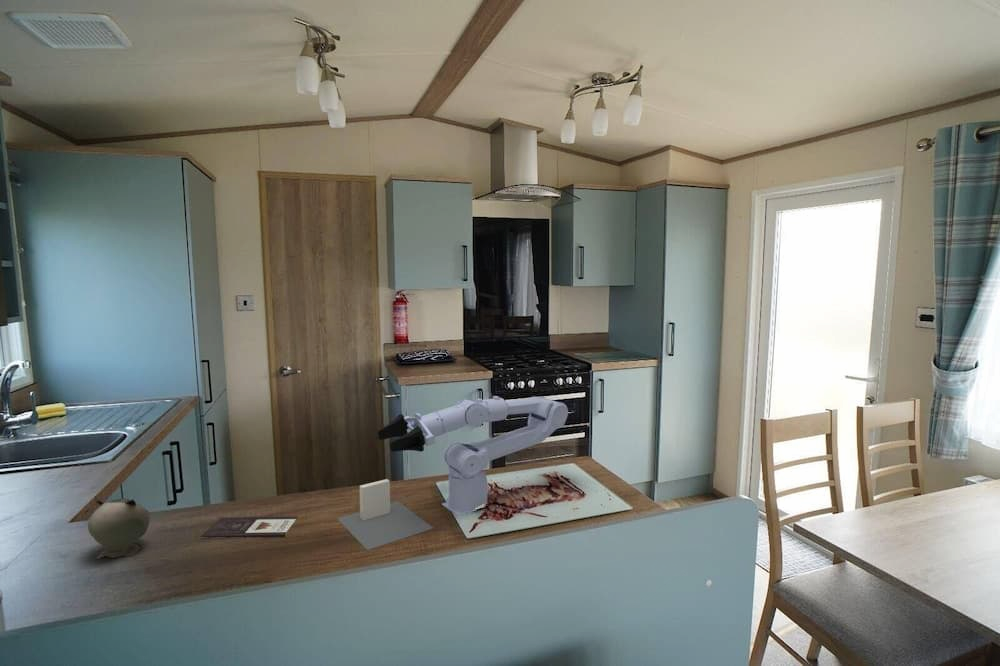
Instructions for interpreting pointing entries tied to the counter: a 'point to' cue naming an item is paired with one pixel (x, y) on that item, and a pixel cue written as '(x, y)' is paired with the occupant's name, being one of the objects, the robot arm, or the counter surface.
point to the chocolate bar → (250, 527)
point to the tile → (374, 499)
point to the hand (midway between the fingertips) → (384, 441)
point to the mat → (385, 526)
